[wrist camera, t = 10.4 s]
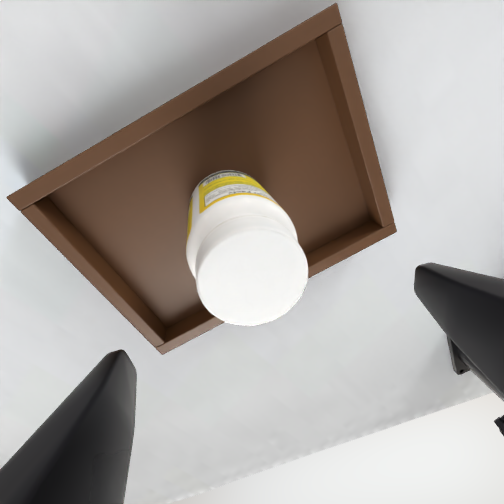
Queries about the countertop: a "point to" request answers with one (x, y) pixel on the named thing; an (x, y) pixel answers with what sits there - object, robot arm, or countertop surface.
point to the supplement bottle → (243, 250)
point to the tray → (214, 160)
